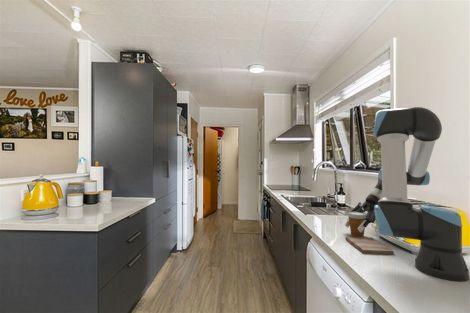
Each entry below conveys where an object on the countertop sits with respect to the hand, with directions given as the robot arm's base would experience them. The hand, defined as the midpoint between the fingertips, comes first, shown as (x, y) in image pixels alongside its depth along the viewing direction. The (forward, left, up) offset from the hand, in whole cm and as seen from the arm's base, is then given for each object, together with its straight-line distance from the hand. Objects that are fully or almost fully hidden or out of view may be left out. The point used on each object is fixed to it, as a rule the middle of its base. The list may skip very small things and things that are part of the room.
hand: (352, 228), depth 130 cm
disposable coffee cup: (+1, -3, -4) cm, 5 cm away
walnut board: (-17, 0, -4) cm, 17 cm away
